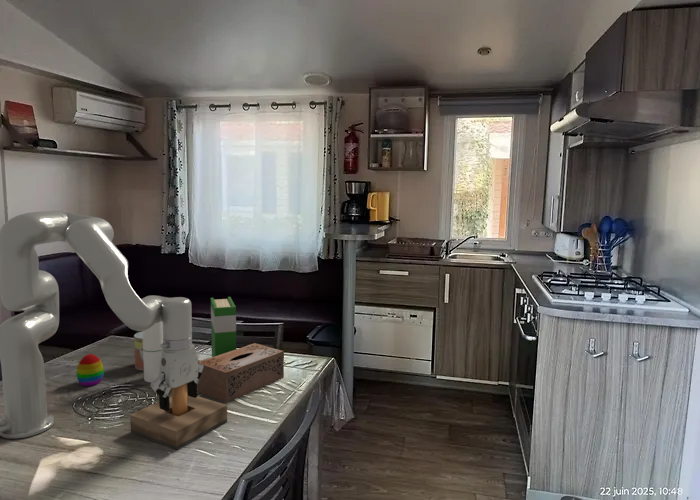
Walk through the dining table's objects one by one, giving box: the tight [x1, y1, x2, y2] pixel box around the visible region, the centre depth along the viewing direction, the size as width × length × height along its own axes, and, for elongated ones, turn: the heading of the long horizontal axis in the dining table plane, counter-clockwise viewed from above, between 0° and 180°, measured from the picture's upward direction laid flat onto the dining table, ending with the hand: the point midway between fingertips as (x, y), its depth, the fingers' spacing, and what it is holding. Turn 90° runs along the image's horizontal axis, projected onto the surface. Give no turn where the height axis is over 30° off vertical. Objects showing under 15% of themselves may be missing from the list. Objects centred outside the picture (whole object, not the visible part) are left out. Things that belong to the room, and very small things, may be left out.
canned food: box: [133, 331, 144, 371], centre depth 183 cm, size 11×11×12 cm
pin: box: [171, 383, 188, 417], centre depth 136 cm, size 4×4×12 cm
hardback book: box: [210, 296, 237, 358], centre depth 184 cm, size 18×7×24 cm, turn 20°
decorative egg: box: [76, 353, 105, 387], centre depth 165 cm, size 8×8×10 cm
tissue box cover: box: [197, 342, 285, 403], centre depth 166 cm, size 26×14×10 cm, turn 145°
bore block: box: [129, 392, 228, 451], centre depth 136 cm, size 18×18×5 cm
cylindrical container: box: [142, 321, 163, 383], centre depth 169 cm, size 7×7×25 cm
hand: (178, 402), depth 136 cm, fingers open, 9 cm apart
